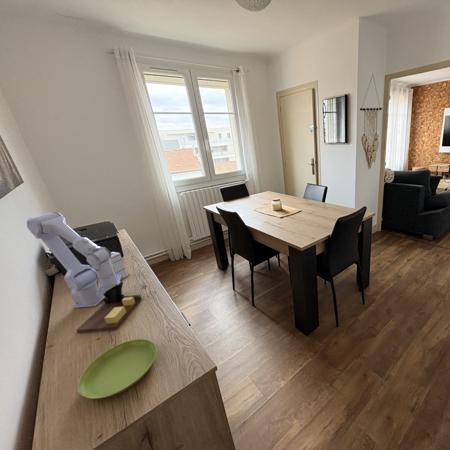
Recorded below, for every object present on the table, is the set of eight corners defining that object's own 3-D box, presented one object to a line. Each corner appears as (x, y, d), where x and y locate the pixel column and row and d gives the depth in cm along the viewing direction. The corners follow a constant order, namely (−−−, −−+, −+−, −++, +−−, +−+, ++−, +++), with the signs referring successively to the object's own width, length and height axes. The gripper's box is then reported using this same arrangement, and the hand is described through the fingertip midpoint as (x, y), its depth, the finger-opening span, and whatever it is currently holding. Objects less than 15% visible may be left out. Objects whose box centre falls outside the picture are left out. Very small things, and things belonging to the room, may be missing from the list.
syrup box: (129, 275, 134) (120, 252, 128) (118, 281, 129) (109, 257, 123) (122, 273, 136) (113, 251, 130) (111, 279, 130) (101, 256, 125)
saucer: (89, 422, 64) (85, 414, 63) (76, 376, 77) (72, 369, 76) (168, 366, 79) (166, 359, 78) (146, 336, 92) (143, 329, 90)
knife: (105, 303, 109) (102, 299, 108) (108, 300, 111) (106, 295, 110) (140, 300, 109) (138, 296, 108) (143, 297, 111) (141, 293, 110)
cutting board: (77, 332, 95) (76, 329, 95) (108, 302, 112) (107, 300, 111) (116, 329, 96) (114, 326, 95) (141, 299, 112) (140, 297, 112)
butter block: (106, 323, 97) (104, 318, 96) (117, 312, 103) (114, 307, 102) (116, 322, 97) (114, 317, 96) (126, 312, 103) (124, 306, 102)
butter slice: (123, 305, 107) (121, 300, 106) (126, 302, 109) (124, 297, 107) (132, 305, 107) (130, 299, 106) (135, 302, 109) (133, 296, 108)
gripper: (104, 283, 98) (115, 310, 103) (126, 265, 112) (135, 289, 117) (86, 285, 98) (98, 311, 103) (110, 266, 111) (120, 290, 116)
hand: (117, 299), depth 110 cm, fingers open, 3 cm apart
